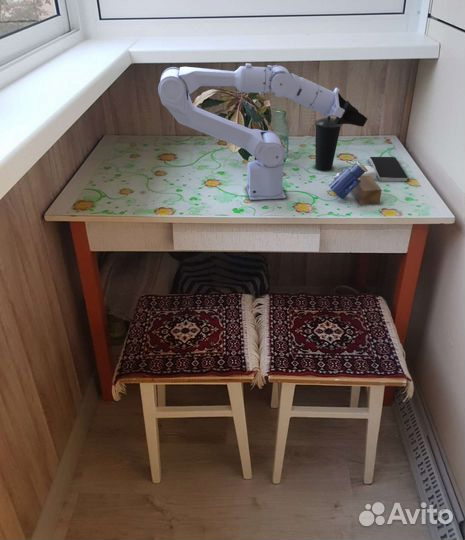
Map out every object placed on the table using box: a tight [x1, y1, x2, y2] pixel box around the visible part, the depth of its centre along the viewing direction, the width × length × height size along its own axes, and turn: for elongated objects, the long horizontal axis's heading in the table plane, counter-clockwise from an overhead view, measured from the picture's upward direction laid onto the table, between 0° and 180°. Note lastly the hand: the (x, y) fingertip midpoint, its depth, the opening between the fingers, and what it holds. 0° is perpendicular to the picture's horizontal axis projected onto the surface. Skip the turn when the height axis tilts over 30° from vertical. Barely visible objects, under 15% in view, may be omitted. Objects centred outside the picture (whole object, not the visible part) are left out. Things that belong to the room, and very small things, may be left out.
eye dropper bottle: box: [332, 164, 377, 181], centre depth 141 cm, size 4×6×12 cm
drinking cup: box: [314, 116, 343, 172], centre depth 144 cm, size 8×8×20 cm
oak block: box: [350, 176, 382, 206], centre depth 132 cm, size 5×9×4 cm, turn 6°
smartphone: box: [368, 156, 409, 182], centre depth 147 cm, size 8×1×15 cm
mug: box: [328, 160, 368, 200], centre depth 129 cm, size 9×7×10 cm
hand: (360, 118), depth 125 cm, fingers open, 7 cm apart
